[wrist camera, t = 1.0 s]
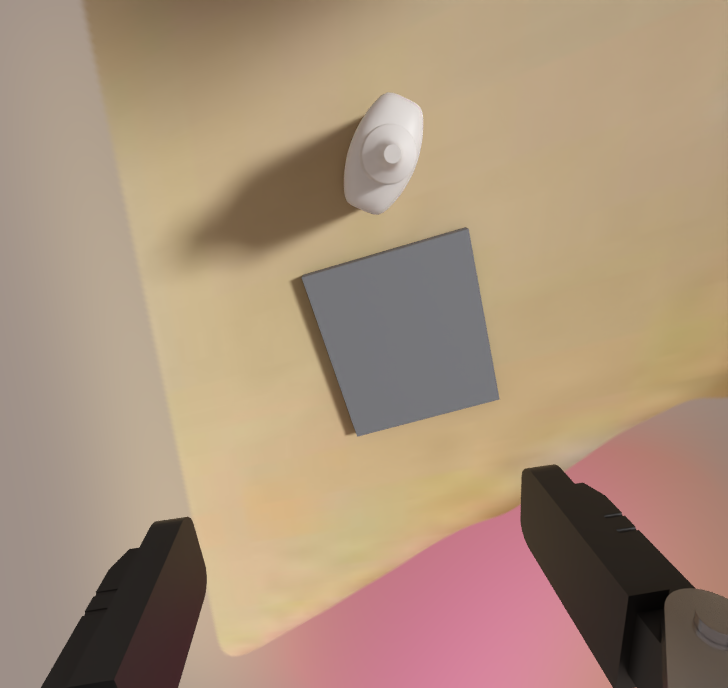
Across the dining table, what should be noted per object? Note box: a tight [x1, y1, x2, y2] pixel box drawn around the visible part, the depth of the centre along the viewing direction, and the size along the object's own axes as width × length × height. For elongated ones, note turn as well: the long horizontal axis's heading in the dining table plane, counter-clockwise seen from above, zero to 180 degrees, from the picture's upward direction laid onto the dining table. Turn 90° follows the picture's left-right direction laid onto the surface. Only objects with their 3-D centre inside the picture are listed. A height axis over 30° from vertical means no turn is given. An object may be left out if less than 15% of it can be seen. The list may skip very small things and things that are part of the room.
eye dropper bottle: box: [344, 92, 423, 215], centre depth 22 cm, size 4×6×12 cm
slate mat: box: [302, 227, 499, 436], centre depth 32 cm, size 14×12×1 cm
